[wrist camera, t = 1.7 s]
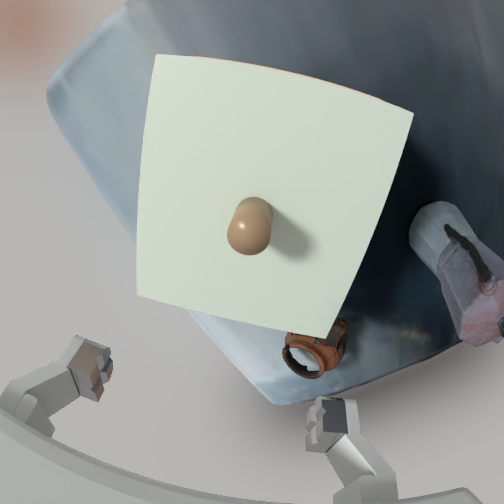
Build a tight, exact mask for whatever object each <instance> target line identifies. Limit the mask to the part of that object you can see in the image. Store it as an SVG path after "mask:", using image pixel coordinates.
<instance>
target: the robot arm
mask: <svg viewBox="0 0 504 504" xmlns="http://www.w3.org/2000/svg"><path fill="white" fill-rule="evenodd" d="M110 354H111V351H110V348H109V347H106V346H104V345H101V344H98V343H96V342H93V341H90V340H88V339H86V338H83V337H81V336H78V335H76V336H74V337H73V338H72V339H71V341H70V342H69V344H68V345H67V347H66V348H65V350H64V352H63V353H62V354H61V356H60V357H59V359H58V360H57V362H56V363H55V362H51V363H49V364H47V365H45V366H43V367H41V368H38V369H36V370H34V371H32V372H30V373H28V374H26V375H23V376H21V377H19V378H17V379H15V380H13V381H11V382H9V384H8V385H7V387H6V389H5V390H4V392H3V393H2V395H1V396H0V504H289V503H276V502H275V503H274V502H264V501H255V500H247V499H240V498H234V497H227V496H222V495H216V494H211V493H206V492H201V491H196V490H192V489H188V488H183V487H179V486H175V485H172V484H168V483H164V482H161V481H157V480H154V479H151V478H147V477H144V476H141V475H138V474H135V473H132V472H129V471H126V470H124V469H121V468H118V467H115V466H113V465H110V464H108V463H105V462H102V461H100V460H97V459H95V458H93V457H90V456H88V455H86V454H84V453H81V452H79V451H77V450H75V449H73V448H71V447H68V446H66V445H64V444H62V443H60V442H58V441H56V440H54V439H52V438H51V437H52V435H53V432H54V431H55V428H54V426H53V424H52V423H51V421H50V420H49V418H48V417H49V416H51V415H53V414H54V413H56V412H57V411H59V410H60V409H62V408H63V407H65V406H66V405H68V404H69V403H71V402H72V401H74V400H75V399H77V398H78V397H80V396H83V397H86V398H88V399H91V400H93V401H96V402H98V401H99V399H100V397H101V395H102V393H103V391H104V387H103V384H104V383H106V382H108V381H109V379H110V377H111V374H112V370H113V361H112V359H111V358H110V357H109V356H110ZM306 429H307V430H308V431H309V434H308V435H307V436H306V451H309V452H320V453H326V456H327V458H328V459H329V461H330V463H331V465H332V466H333V468H334V470H335V471H336V473H337V475H338V476H339V478H340V480H341V481H342V483H343V485H344V486H345V487H344V488H343V489H342V490H340V491H338V492H337V493H336V494H334V495H333V504H482V502H481V501H480V500H479V499H478V498H477V497H476V496H475V495H474V494H473V493H472V492H471V491H470V490H469V489H467V488H464V487H463V488H457V489H453V490H449V491H444V492H440V493H435V494H430V495H425V496H420V497H413V498H407V499H400V500H398V491H397V483H396V475H395V472H394V471H393V470H392V468H391V467H390V466H389V465H388V463H387V462H386V461H385V460H384V459H383V457H382V456H381V455H380V454H379V452H378V451H377V450H376V449H375V447H374V446H373V445H372V444H371V443H370V441H369V440H368V439H367V438H366V436H365V435H362V434H361V431H360V424H359V416H358V409H357V403H356V401H355V400H351V399H342V398H332V397H322V396H319V397H317V399H316V400H315V405H314V406H312V407H311V408H310V409H309V411H308V414H307V417H306Z"/></svg>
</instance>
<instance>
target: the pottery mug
mask: <svg viewBox="0 0 504 504" xmlns="http://www.w3.org/2000/svg"><path fill="white" fill-rule="evenodd" d="M347 329H348V324H347V322H346V320H344V319H342V318H336V319H335V321H334V323H333V325H332V327H331V329H330V331H329V333H328V335H327V337H326V339H324V338H318V339H319V342H320V344H318V343H315V340H316V339H315V338H312V337H308V336H300V335H293V333H292V332H288V334H287V336H286V338H285V347H284V348H283V351H282V354H283V359H284V361H285V362H286V363H287V365H288V367H289V368H290V369H291V370H292V371H294V372H295V373H296V374H298V375H300V376H302V377H304V378H308V379H316V378H319V377H321V376H322V375H323V373H324V372H325V371H330V370H332V369H334V368H335V367H336V366H337V365H338V364H339V362H340V361H341V359H342V357H343V355H344V352H345V349H346V344H347V338H348V333H347ZM337 343H338V346H337V347H336V345H337ZM290 347H291V348H301V349H303V350H306V351H307V352H309V353H311V354H312V355H313V356H314V357H315V358H316V360H317V361H318V363H319V365H320V370H319V371H308V370H307V366H304V365H301V364H299V363H298V362H297V361H296V360H295V359H294V358H293V357H292V354H291V352H290V350H289V348H290Z"/></svg>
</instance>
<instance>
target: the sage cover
mask: <svg viewBox="0 0 504 504" xmlns="http://www.w3.org/2000/svg"><path fill="white" fill-rule="evenodd" d="M413 115H414V113H412V112H409V111H407V110H404V109H402V108H400V107H397V106H395V105H392V104H389V103H387V102H384V101H381V100H379V99H376V98H373V97H370V96H367V95H365V94H362V93H359V92H356V91H353V90H350V89H346V88H343V87H340V86H337V85H333V84H330V83H326V82H323V81H319V80H316V79H312V78H308V77H304V76H300V75H296V74H292V73H288V72H283V71H279V70H274V69H269V68H264V67H259V66H254V65H248V64H242V63H236V62H230V61H223V60H215V59H207V58H198V57H188V56H176V55H161V54H156V57H155V63H154V68H153V74H152V80H151V86H150V92H149V99H148V106H147V113H146V120H145V129H144V137H143V147H142V157H141V168H140V181H139V196H138V217H137V295H139V296H142V297H146V298H149V299H153V300H157V301H160V302H164V303H167V304H172V305H175V306H179V307H183V308H186V309H190V310H194V311H198V312H202V313H206V314H210V315H215V316H219V317H223V318H227V319H231V320H236V321H240V322H245V323H249V324H254V325H258V326H263V327H268V328H272V329H277V330H282V331H287V332H292V333H297V334H302V335H308V336H313V337H318V338H324V339H326V337H327V335H328V333H329V331H330V329H331V327H332V325H333V323H334V321H335V319H336V317H337V315H338V312H339V310H340V308H341V306H342V304H343V302H344V300H345V298H346V295H347V293H348V291H349V289H350V287H351V284H352V282H353V280H354V278H355V275H356V273H357V271H358V269H359V266H360V264H361V262H362V259H363V257H364V255H365V252H366V250H367V247H368V245H369V242H370V240H371V238H372V235H373V233H374V230H375V227H376V225H377V222H378V220H379V217H380V215H381V212H382V209H383V207H384V204H385V201H386V198H387V196H388V193H389V190H390V187H391V184H392V182H393V179H394V176H395V173H396V170H397V167H398V164H399V161H400V158H401V155H402V152H403V148H404V145H405V142H406V139H407V135H408V132H409V129H410V125H411V122H412V118H413Z"/></svg>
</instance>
